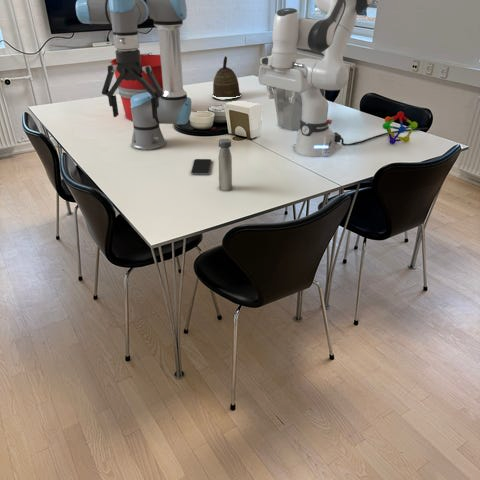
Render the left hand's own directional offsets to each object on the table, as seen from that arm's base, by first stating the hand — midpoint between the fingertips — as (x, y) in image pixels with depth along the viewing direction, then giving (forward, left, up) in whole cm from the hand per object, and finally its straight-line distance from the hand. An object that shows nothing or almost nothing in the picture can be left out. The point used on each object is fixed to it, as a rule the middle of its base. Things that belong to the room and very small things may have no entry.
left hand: (135, 116), depth 150 cm
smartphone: (-25, +17, -28) cm, 41 cm away
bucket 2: (-88, +55, -28) cm, 107 cm away
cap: (-7, +30, -10) cm, 32 cm away
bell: (-140, +10, -28) cm, 143 cm away
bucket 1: (-95, -27, -28) cm, 103 cm away
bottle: (-7, +30, -28) cm, 41 cm away
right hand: (-21, +48, +2) cm, 53 cm away
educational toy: (-67, +102, -28) cm, 125 cm away
